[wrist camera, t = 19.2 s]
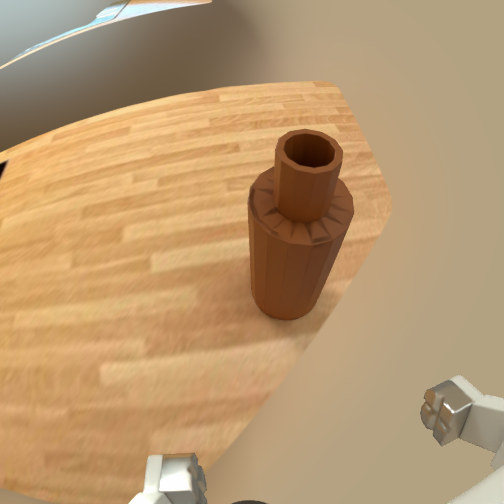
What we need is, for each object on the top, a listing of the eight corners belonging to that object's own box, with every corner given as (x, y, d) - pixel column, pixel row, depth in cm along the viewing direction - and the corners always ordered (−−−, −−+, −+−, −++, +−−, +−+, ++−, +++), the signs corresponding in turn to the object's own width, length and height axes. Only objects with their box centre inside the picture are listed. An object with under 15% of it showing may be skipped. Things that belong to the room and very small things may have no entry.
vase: (328, 308, 29) (393, 183, 14) (263, 328, 28) (269, 210, 13) (305, 251, 32) (336, 109, 17) (244, 268, 31) (232, 124, 16)
